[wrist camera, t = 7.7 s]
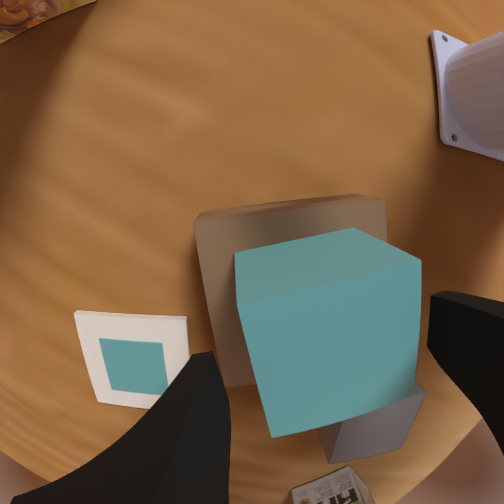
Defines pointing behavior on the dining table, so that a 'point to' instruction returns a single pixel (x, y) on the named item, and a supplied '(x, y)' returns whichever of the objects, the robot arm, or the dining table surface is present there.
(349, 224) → the walnut block
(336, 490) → the coffee box
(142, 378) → the card
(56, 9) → the candy box
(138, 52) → the dining table surface
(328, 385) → the teal cube
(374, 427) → the charcoal cube
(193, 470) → the robot arm
